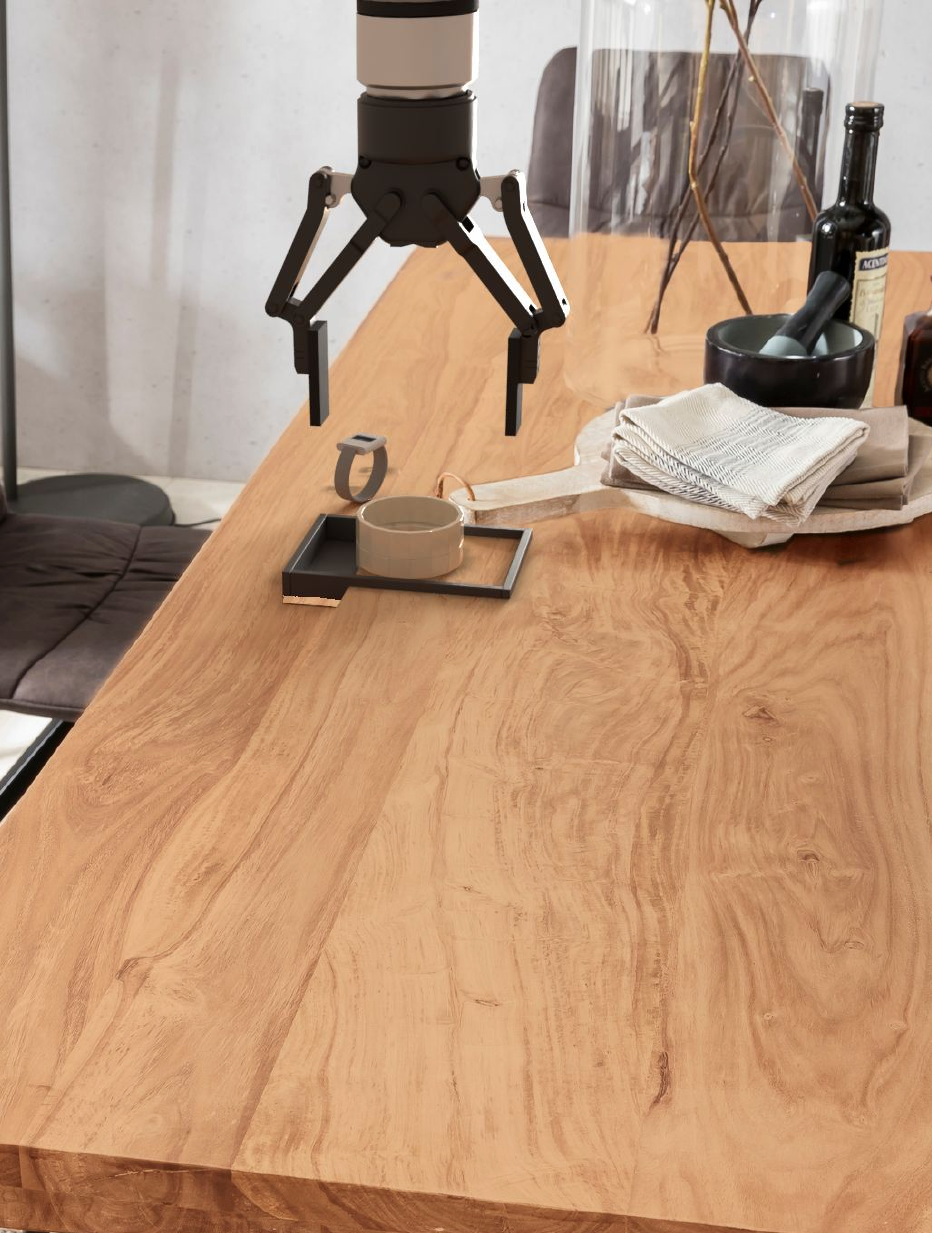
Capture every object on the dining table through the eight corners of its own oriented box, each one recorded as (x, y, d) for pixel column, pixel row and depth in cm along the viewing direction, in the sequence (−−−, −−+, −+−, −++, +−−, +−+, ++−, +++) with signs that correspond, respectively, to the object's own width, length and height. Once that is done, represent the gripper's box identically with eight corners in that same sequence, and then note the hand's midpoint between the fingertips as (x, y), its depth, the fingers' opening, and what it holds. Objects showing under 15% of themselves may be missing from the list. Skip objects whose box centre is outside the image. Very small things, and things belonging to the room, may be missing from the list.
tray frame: (531, 559, 129) (533, 528, 128) (508, 622, 119) (510, 590, 118) (320, 543, 132) (320, 513, 131) (282, 603, 123) (281, 571, 121)
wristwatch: (355, 515, 137) (355, 453, 134) (326, 508, 138) (325, 447, 135) (396, 492, 141) (396, 431, 138) (367, 485, 142) (367, 426, 140)
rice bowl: (469, 557, 128) (471, 498, 125) (451, 597, 122) (453, 536, 119) (369, 549, 129) (369, 491, 127) (346, 589, 123) (346, 528, 121)
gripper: (623, 82, 108) (602, 417, 120) (241, 79, 113) (255, 401, 125) (612, 99, 102) (590, 452, 114) (208, 95, 107) (227, 433, 119)
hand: (415, 426), depth 119 cm, fingers open, 13 cm apart
